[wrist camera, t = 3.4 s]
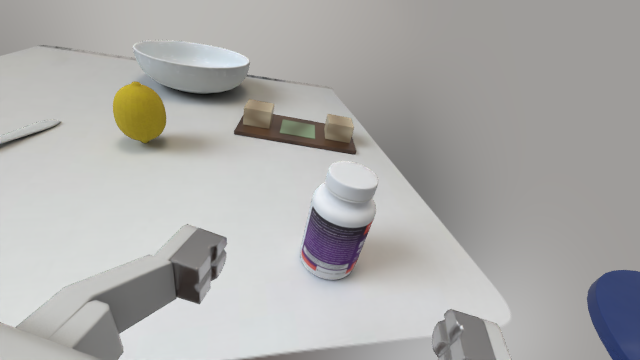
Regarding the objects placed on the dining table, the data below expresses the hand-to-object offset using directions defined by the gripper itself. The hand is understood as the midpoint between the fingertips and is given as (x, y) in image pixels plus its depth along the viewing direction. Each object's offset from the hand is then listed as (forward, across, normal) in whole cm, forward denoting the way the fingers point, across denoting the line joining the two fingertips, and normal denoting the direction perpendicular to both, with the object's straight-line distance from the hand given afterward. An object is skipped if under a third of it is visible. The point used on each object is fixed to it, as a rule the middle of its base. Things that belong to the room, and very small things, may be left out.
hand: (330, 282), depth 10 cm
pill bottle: (+12, 0, +12) cm, 17 cm away
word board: (+38, +10, +12) cm, 42 cm away
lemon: (+22, +27, +12) cm, 37 cm away
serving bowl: (+47, +35, +12) cm, 60 cm away
